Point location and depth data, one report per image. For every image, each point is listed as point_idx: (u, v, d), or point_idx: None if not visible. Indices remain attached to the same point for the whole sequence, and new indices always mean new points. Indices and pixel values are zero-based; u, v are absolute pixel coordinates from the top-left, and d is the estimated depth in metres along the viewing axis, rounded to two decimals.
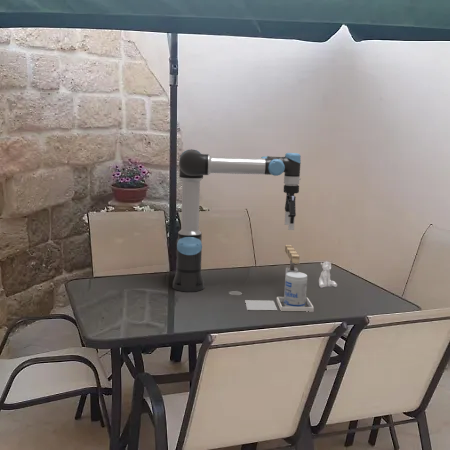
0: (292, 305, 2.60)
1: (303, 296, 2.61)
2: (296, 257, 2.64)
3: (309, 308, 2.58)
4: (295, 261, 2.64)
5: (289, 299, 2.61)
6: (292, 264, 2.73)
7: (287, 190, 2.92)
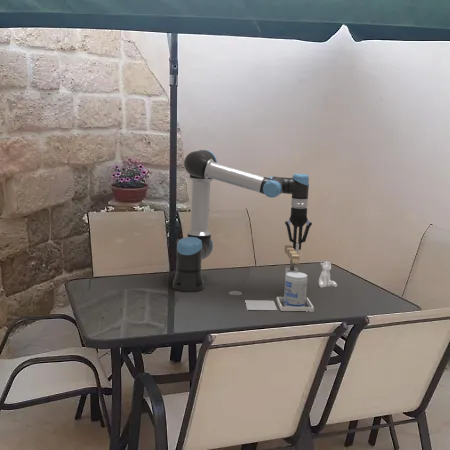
0: (292, 305, 2.60)
1: (303, 296, 2.61)
2: (296, 257, 2.64)
3: (309, 308, 2.58)
4: (295, 261, 2.64)
5: (289, 299, 2.61)
6: (292, 264, 2.73)
7: None
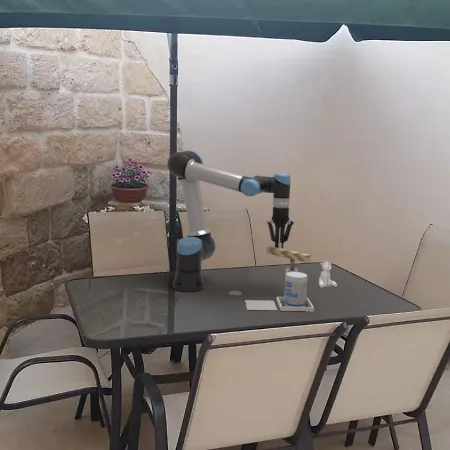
0: (292, 305, 2.60)
1: (303, 296, 2.61)
2: (308, 256, 2.67)
3: (309, 308, 2.58)
4: (308, 260, 2.67)
5: (289, 299, 2.61)
6: (293, 264, 2.73)
7: None
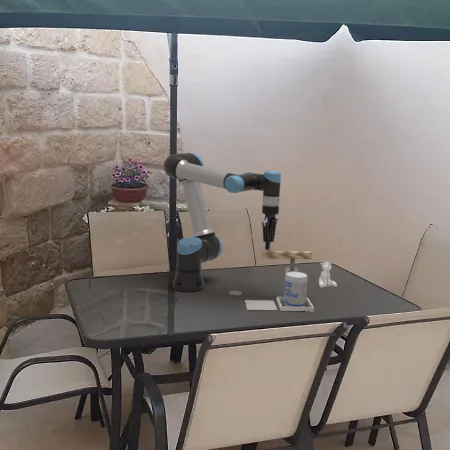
0: (292, 305, 2.60)
1: (303, 296, 2.61)
2: None
3: (309, 308, 2.58)
4: None
5: (289, 299, 2.61)
6: None
7: (263, 210, 2.70)
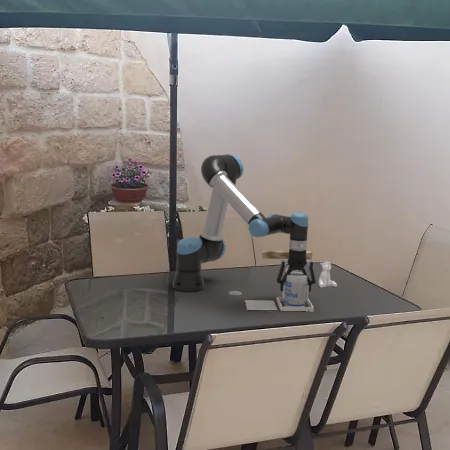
0: (292, 305, 2.60)
1: (303, 296, 2.61)
2: None
3: (309, 308, 2.58)
4: None
5: (289, 299, 2.61)
6: None
7: None
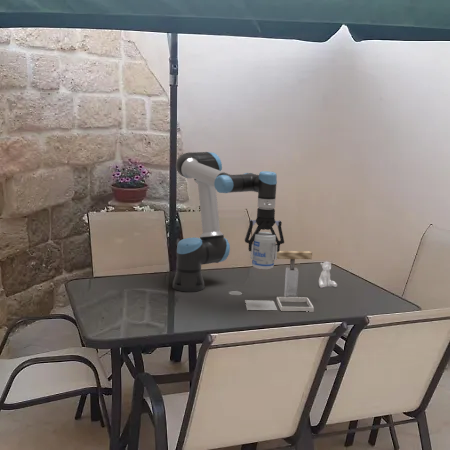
0: (260, 265, 2.57)
1: (271, 256, 2.57)
2: None
3: (309, 308, 2.58)
4: None
5: (257, 259, 2.57)
6: None
7: None
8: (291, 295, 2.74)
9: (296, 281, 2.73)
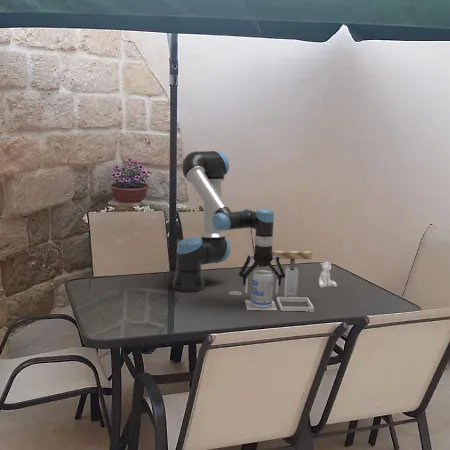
0: (258, 303, 2.60)
1: (269, 294, 2.60)
2: None
3: (309, 308, 2.58)
4: None
5: (255, 298, 2.60)
6: None
7: None
8: (291, 295, 2.74)
9: (296, 281, 2.73)
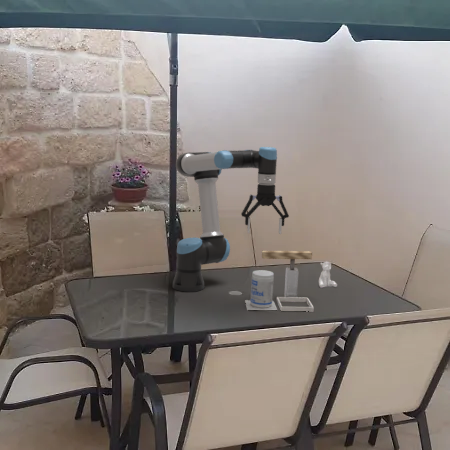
0: (258, 303, 2.60)
1: (269, 294, 2.60)
2: None
3: (309, 308, 2.58)
4: None
5: (255, 298, 2.60)
6: None
7: None
8: (291, 295, 2.74)
9: (296, 281, 2.73)
